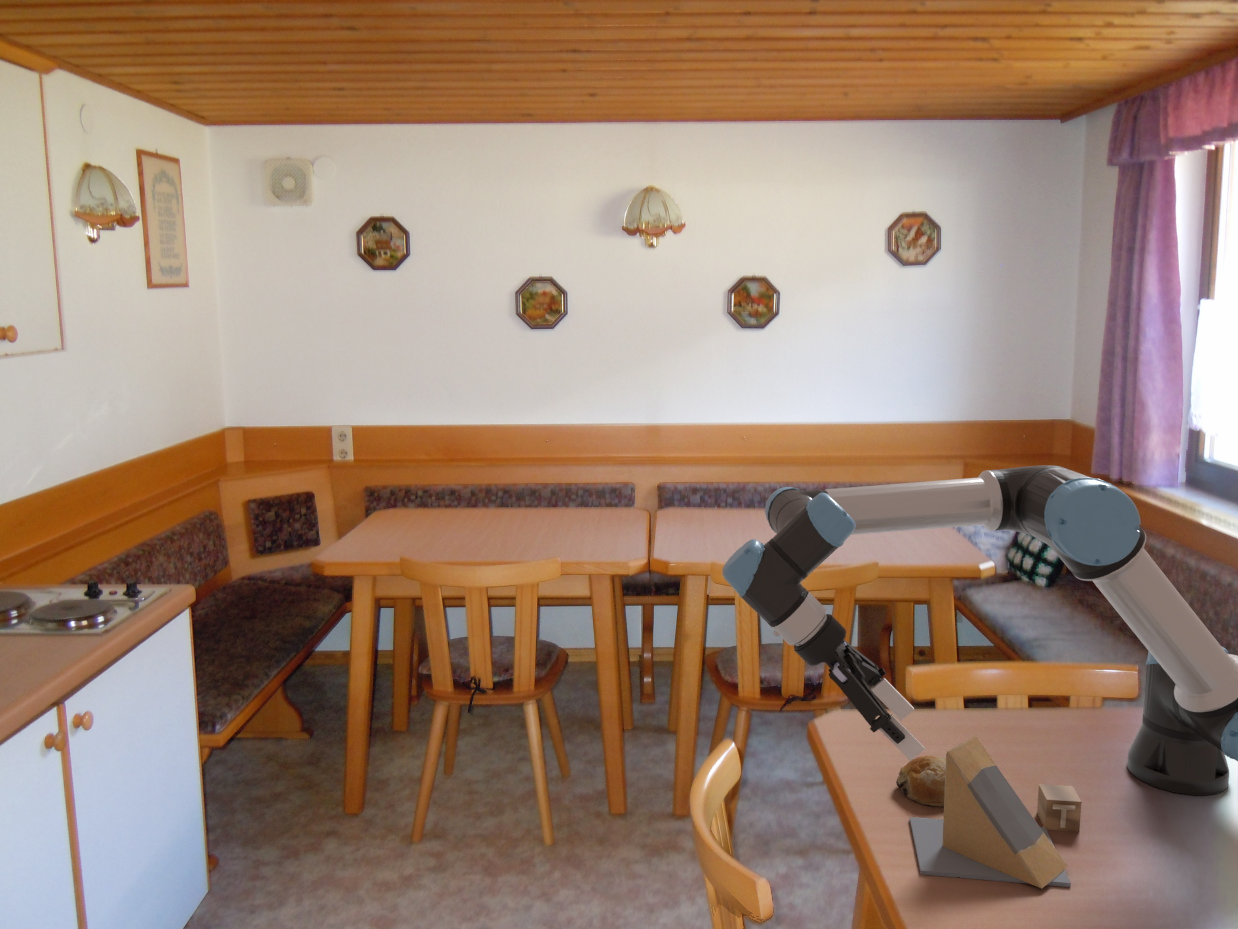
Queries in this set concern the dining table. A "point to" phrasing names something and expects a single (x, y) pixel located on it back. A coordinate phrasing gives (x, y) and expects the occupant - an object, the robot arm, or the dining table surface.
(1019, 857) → the sandwich container
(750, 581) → the robot arm
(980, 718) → the dining table surface
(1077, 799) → the wooden letter cube
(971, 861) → the grey rubber mat
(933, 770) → the bread roll
